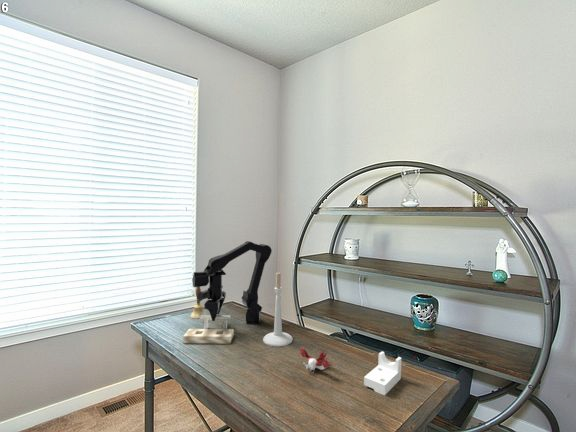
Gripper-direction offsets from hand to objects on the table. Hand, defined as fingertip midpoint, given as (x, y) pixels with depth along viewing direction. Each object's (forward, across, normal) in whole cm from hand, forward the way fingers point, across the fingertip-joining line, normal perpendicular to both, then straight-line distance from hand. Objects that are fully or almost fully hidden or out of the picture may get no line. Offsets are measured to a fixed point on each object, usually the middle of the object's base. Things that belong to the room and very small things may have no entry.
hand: (215, 317), depth 152 cm
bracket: (+6, +45, +66) cm, 80 cm away
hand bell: (+6, -17, -13) cm, 22 cm away
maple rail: (+5, +12, 0) cm, 13 cm away
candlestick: (+6, +12, +30) cm, 33 cm away
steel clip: (+5, 0, 0) cm, 5 cm away
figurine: (+6, +36, +45) cm, 58 cm away
